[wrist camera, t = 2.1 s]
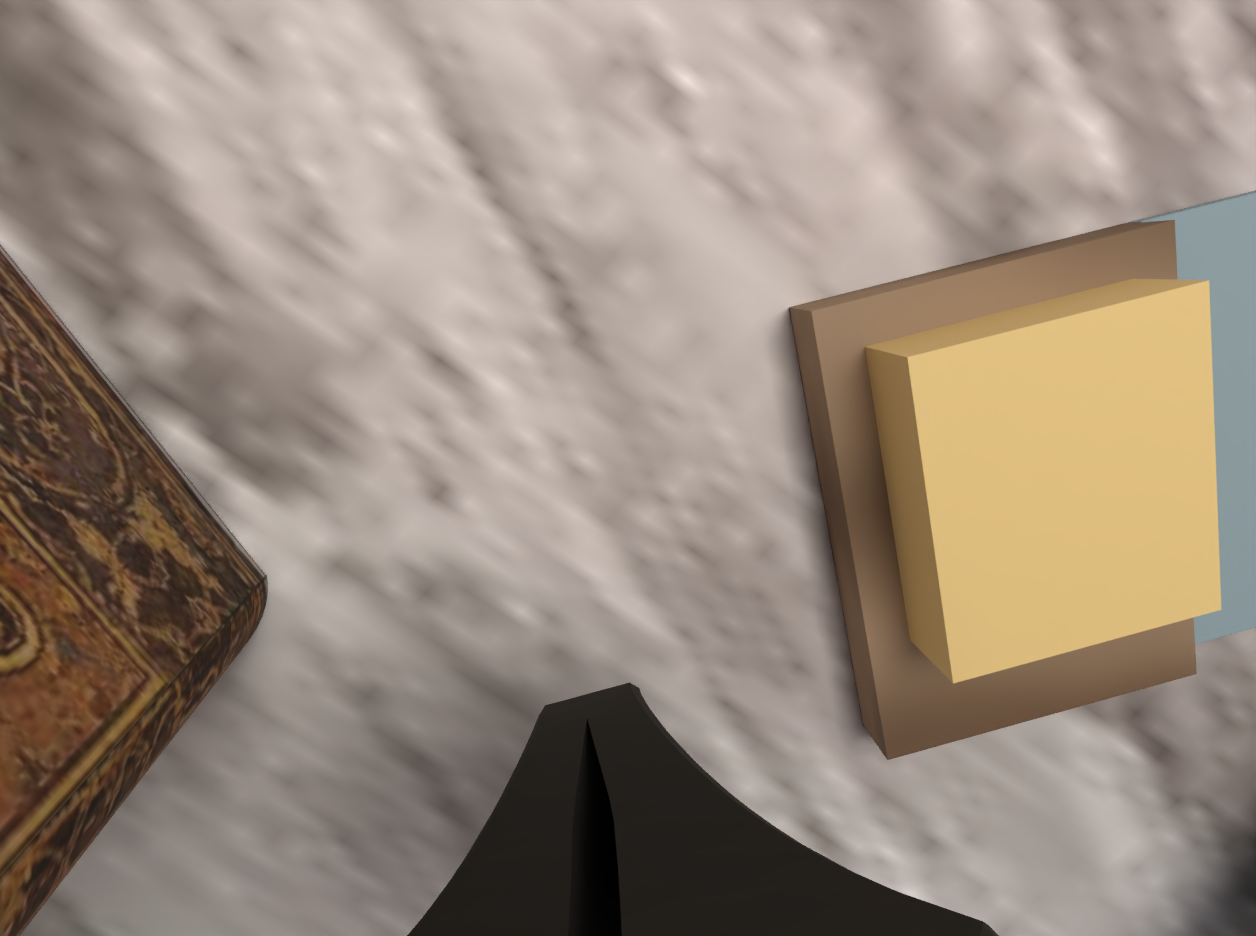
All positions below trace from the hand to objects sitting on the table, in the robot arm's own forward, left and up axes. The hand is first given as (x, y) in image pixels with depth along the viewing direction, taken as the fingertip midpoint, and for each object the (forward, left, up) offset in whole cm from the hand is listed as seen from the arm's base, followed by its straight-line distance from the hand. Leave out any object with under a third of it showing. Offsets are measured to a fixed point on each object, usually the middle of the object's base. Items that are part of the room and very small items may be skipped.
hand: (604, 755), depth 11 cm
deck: (-1, -10, -8) cm, 13 cm away
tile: (0, -10, -6) cm, 12 cm away
